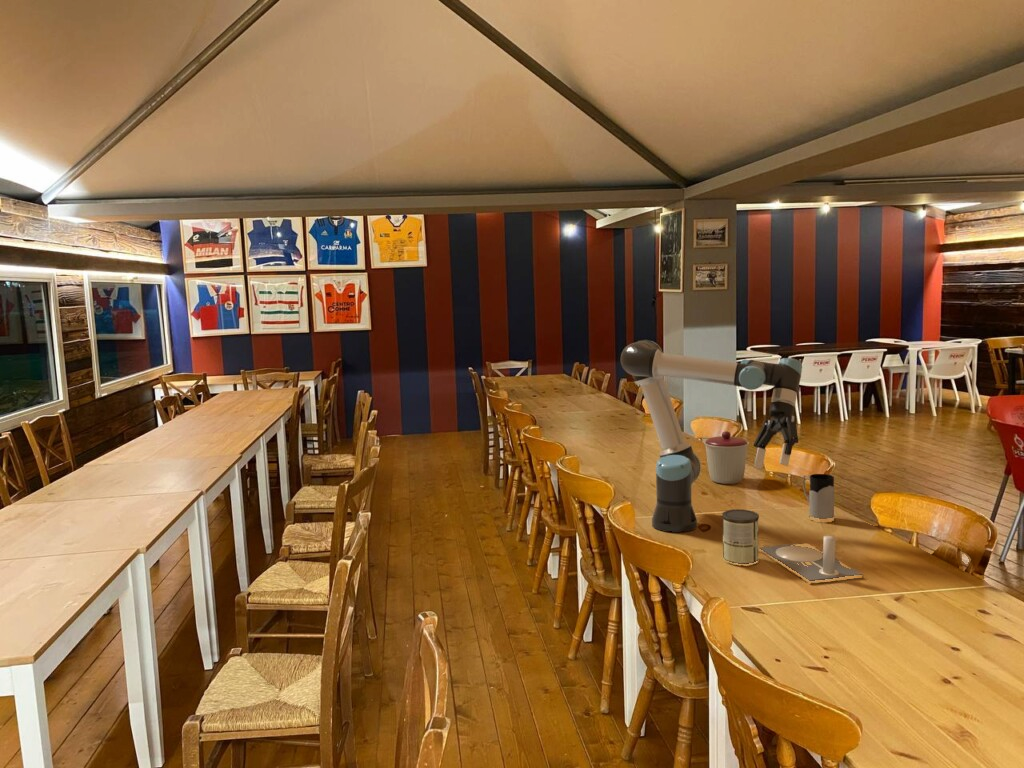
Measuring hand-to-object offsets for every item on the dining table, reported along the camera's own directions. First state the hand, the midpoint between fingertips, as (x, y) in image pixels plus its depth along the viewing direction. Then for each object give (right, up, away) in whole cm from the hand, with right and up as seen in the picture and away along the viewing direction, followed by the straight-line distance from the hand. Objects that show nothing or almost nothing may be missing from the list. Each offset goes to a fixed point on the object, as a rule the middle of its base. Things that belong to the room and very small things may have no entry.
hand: (770, 466), depth 237 cm
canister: (+7, -14, +71) cm, 73 cm away
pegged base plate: (+3, -26, -23) cm, 35 cm away
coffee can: (-15, -26, -18) cm, 35 cm away
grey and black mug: (+23, -20, +20) cm, 36 cm away
